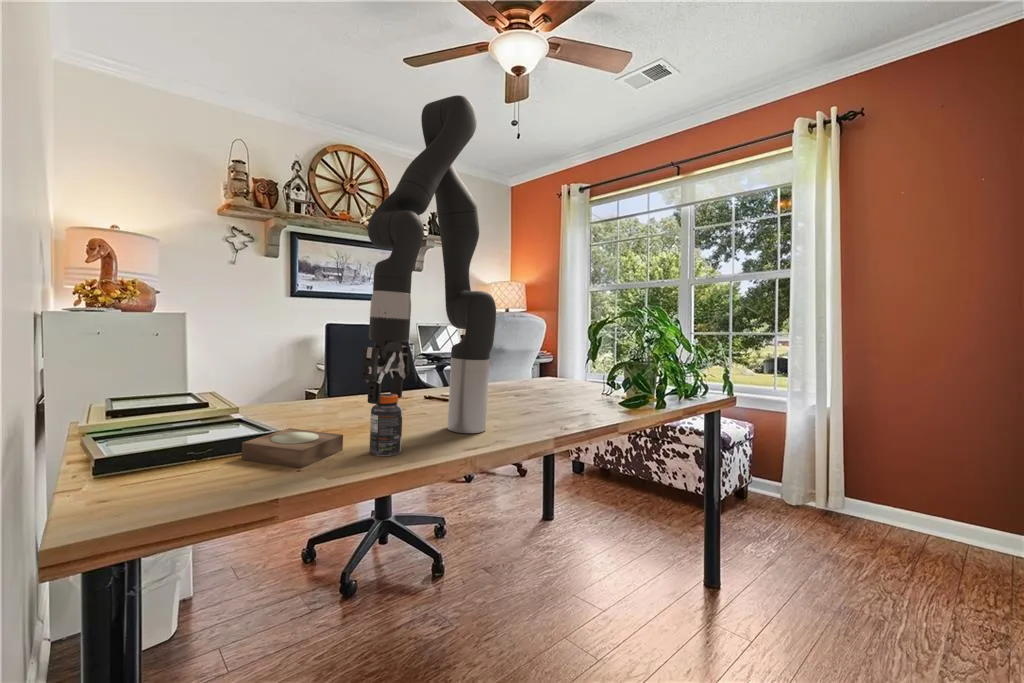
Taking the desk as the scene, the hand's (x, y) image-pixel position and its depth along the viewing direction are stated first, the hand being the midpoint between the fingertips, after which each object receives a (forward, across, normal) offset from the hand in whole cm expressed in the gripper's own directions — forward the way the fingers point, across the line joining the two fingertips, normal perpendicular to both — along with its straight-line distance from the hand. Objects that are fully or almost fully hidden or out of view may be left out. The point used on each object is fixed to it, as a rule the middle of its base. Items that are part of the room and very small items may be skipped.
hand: (385, 400), depth 91 cm
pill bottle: (+10, 0, 0) cm, 10 cm away
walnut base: (+10, -8, +14) cm, 19 cm away
